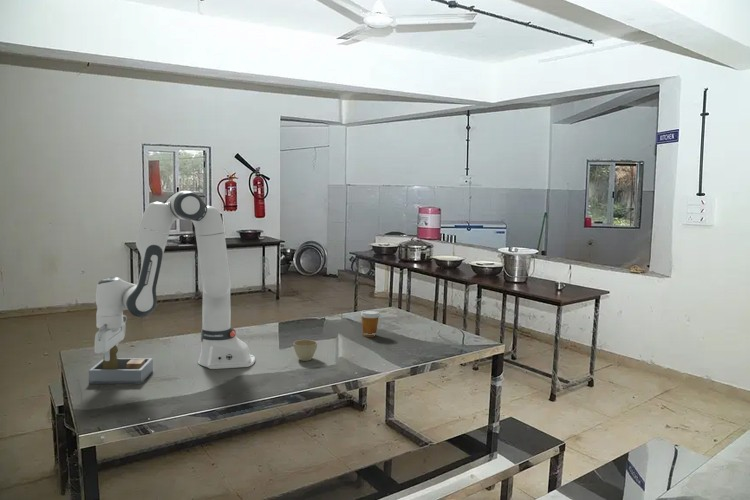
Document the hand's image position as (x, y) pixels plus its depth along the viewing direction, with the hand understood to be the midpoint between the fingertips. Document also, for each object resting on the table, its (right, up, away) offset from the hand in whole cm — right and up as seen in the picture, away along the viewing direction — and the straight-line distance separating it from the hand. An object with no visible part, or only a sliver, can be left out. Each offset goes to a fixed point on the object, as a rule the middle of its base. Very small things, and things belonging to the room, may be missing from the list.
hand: (110, 358), depth 203 cm
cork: (0, -6, +1) cm, 6 cm away
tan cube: (+9, -6, +2) cm, 11 cm away
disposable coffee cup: (+95, -3, +71) cm, 118 cm away
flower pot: (+68, -7, +30) cm, 75 cm away
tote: (+4, -7, +1) cm, 8 cm away
